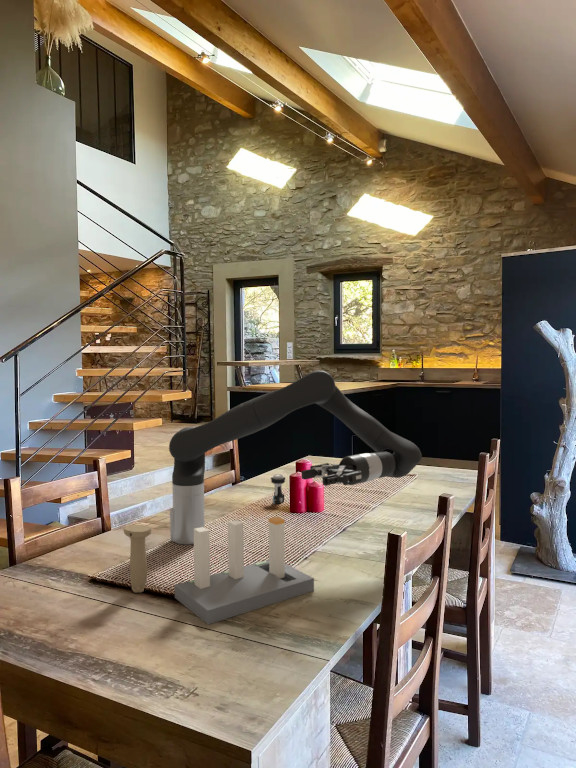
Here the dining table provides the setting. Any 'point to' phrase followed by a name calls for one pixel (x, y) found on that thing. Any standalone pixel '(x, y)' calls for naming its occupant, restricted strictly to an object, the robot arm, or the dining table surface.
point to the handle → (138, 555)
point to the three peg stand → (235, 581)
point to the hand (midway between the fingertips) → (312, 478)
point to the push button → (278, 488)
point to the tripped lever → (276, 547)
